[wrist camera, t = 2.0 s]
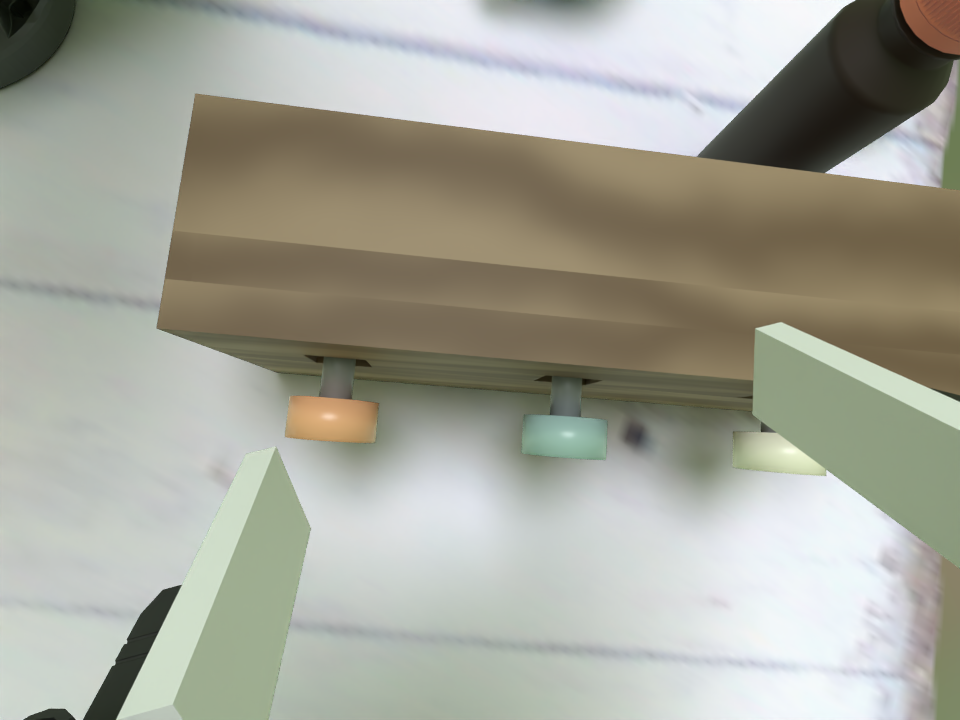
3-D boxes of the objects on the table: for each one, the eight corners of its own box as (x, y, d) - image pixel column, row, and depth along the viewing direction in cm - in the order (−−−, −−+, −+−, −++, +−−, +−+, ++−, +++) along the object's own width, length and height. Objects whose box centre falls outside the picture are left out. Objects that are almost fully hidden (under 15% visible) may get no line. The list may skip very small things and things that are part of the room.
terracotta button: (379, 441, 28) (370, 444, 24) (297, 435, 28) (272, 437, 23) (388, 343, 29) (381, 328, 25) (309, 336, 28) (288, 320, 24)
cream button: (787, 470, 30) (847, 477, 26) (717, 465, 30) (765, 471, 25) (786, 378, 31) (844, 370, 27) (717, 372, 31) (765, 363, 26)
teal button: (590, 456, 29) (618, 461, 25) (514, 451, 29) (530, 455, 24) (594, 361, 30) (622, 350, 26) (521, 355, 30) (536, 342, 25)
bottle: (670, 163, 41) (897, -84, 21) (742, 137, 42) (1021, -124, 22) (707, 239, 40) (974, 58, 21) (778, 210, 41) (1099, 11, 21)
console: (762, 412, 39) (991, 400, 23) (277, 372, 36) (156, 328, 20) (762, 285, 40) (977, 192, 24) (295, 236, 37) (195, 93, 21)
